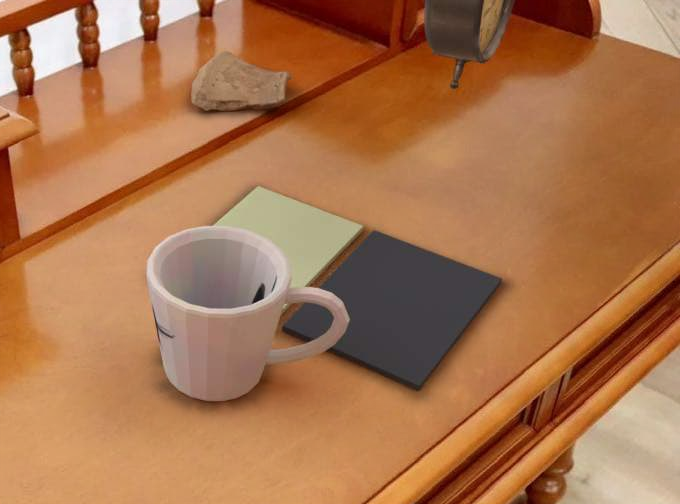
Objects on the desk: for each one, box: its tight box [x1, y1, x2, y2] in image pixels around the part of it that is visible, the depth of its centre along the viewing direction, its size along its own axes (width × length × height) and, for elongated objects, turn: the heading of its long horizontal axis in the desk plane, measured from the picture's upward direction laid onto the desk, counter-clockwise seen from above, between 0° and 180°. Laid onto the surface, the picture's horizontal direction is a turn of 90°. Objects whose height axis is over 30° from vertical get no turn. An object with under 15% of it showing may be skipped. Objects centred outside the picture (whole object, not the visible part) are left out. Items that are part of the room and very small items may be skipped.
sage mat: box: [212, 185, 364, 317], centre depth 95 cm, size 11×16×1 cm
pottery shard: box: [190, 50, 292, 112], centre depth 115 cm, size 11×4×10 cm
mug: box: [146, 225, 350, 402], centre depth 81 cm, size 10×15×10 cm
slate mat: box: [281, 229, 503, 392], centre depth 90 cm, size 12×16×1 cm
